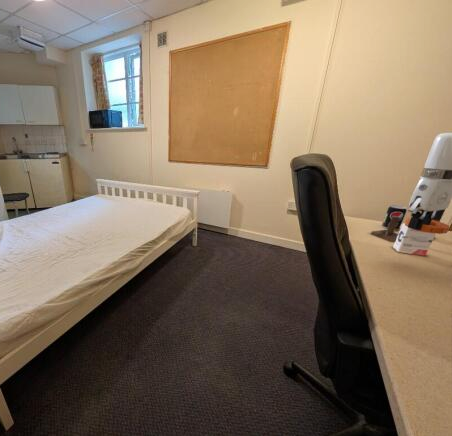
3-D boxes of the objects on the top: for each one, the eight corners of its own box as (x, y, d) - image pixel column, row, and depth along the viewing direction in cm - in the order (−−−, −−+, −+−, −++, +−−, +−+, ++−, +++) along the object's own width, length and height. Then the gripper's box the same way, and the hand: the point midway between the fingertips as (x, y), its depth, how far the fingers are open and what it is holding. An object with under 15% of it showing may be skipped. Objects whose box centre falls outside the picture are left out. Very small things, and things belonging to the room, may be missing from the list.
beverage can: (379, 227, 117) (388, 206, 113) (382, 225, 121) (390, 204, 116) (397, 231, 112) (406, 209, 108) (399, 228, 116) (408, 207, 111)
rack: (406, 240, 103) (415, 219, 99) (391, 241, 101) (400, 220, 98) (384, 232, 111) (392, 213, 108) (370, 234, 110) (377, 214, 106)
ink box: (418, 250, 93) (430, 225, 89) (425, 256, 89) (438, 229, 85) (392, 247, 97) (402, 222, 93) (398, 252, 92) (409, 226, 88)
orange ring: (454, 232, 72) (457, 226, 72) (433, 235, 71) (435, 229, 70) (417, 221, 81) (419, 216, 80) (397, 224, 79) (399, 219, 79)
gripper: (436, 177, 64) (413, 235, 70) (475, 174, 67) (449, 230, 73) (405, 174, 71) (386, 226, 77) (441, 171, 74) (420, 222, 80)
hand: (417, 228), depth 75 cm, fingers closed on orange ring, 2 cm apart
